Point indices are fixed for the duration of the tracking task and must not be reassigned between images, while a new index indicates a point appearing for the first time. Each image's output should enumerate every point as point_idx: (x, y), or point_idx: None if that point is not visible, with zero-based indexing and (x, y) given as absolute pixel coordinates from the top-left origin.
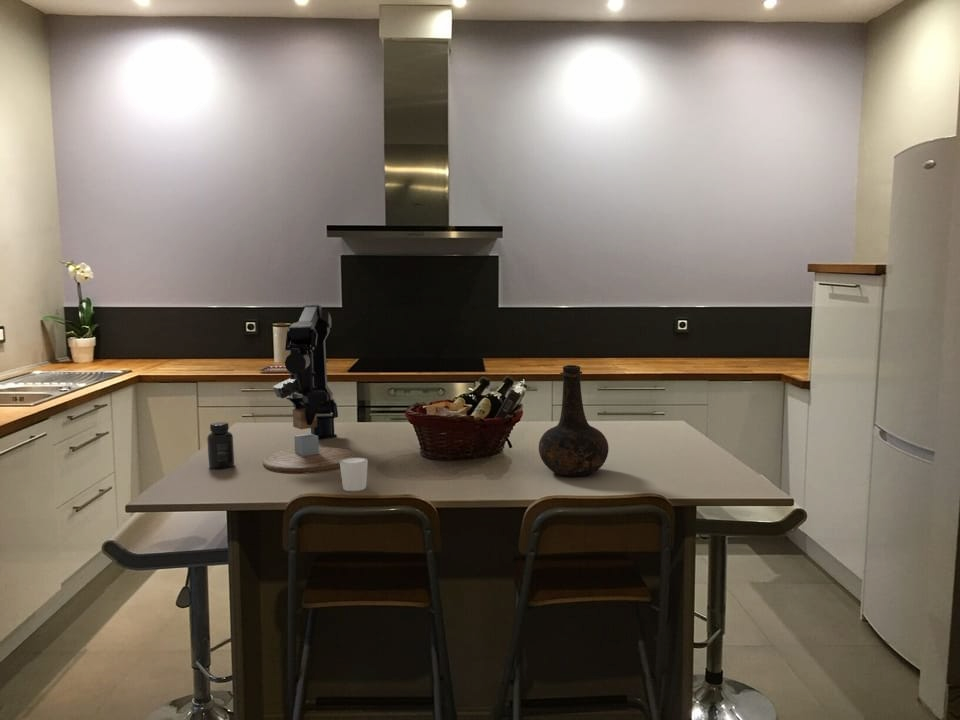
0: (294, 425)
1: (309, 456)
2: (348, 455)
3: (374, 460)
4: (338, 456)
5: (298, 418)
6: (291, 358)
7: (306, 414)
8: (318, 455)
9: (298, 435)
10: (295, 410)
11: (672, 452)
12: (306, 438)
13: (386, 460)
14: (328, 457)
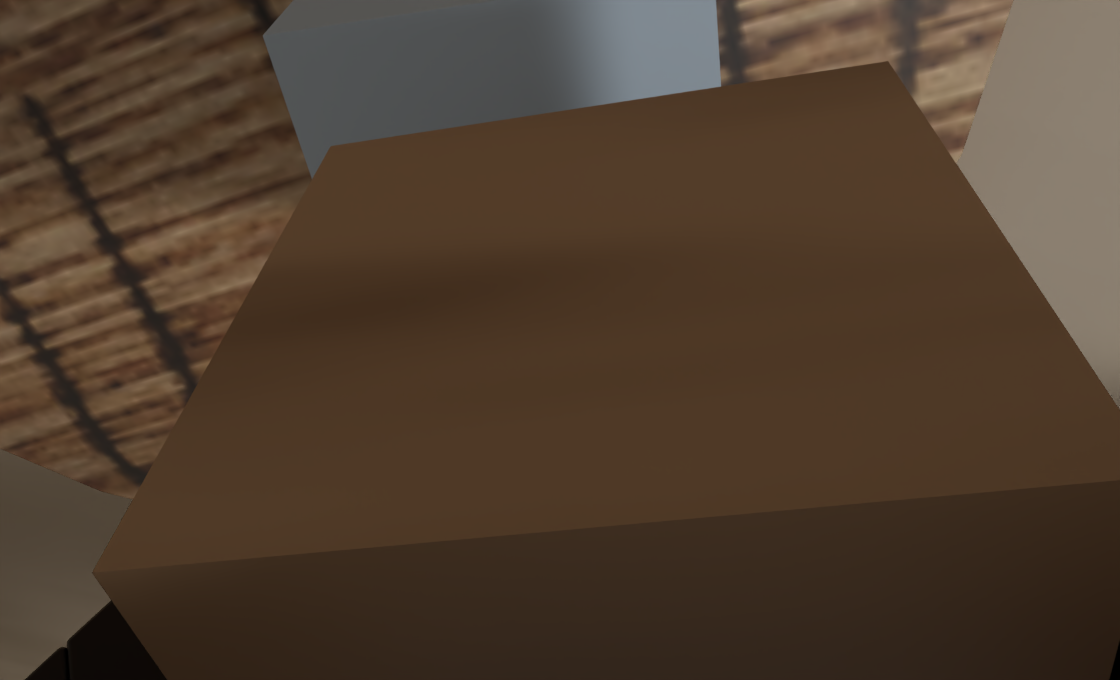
0: (797, 99)
1: (268, 25)
2: (147, 458)
3: (89, 582)
4: (127, 360)
5: (420, 308)
6: None
7: (116, 631)
8: (291, 168)
9: (690, 72)
10: (708, 515)
11: None
12: (310, 146)
13: (60, 644)
14: (103, 245)
